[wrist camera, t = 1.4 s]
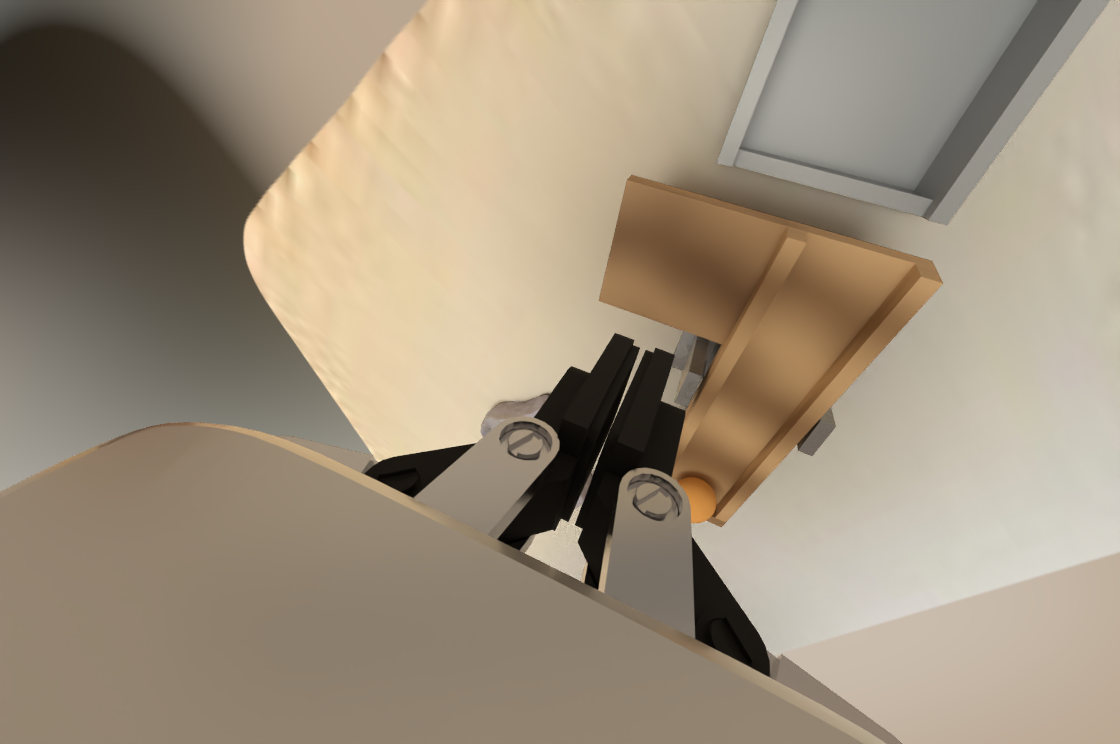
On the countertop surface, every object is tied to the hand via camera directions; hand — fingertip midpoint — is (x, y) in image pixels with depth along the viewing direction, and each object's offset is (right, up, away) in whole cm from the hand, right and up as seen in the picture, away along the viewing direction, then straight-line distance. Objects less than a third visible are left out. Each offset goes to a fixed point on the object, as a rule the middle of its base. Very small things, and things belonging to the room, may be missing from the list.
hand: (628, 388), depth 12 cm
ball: (+8, -9, +19) cm, 22 cm away
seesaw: (+7, +1, +17) cm, 18 cm away
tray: (+14, +16, +10) cm, 23 cm away
